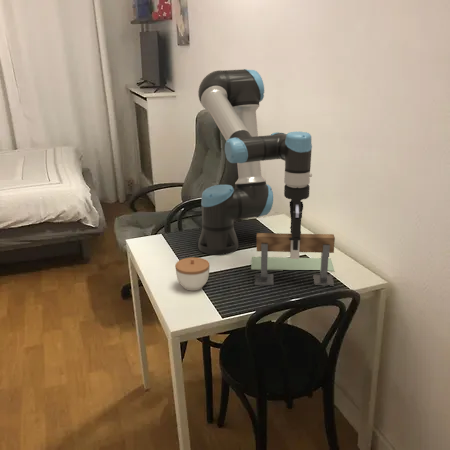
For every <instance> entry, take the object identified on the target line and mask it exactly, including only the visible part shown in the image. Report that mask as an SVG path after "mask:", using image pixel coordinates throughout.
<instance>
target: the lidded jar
mask: <svg viewBox="0 0 450 450" xmlns="http://www.w3.org/2000/svg"><path fill="white" fill-rule="evenodd" d="M174 267H175V275H176V278H177V281H178V283H179V284H180V285H181V286H182V287H183V289H185V290H187V291H192V292H193V291H199V290H201V289H203V287H204V286H205V285H206V283H207V282H208V279H209V275H210V262H209V261H208V260H207V259H205V258H203V257H202V258H201V257H193V256H192V257H186V258H182V259H179V260H178V261H177V262H175V266H174Z"/></svg>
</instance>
